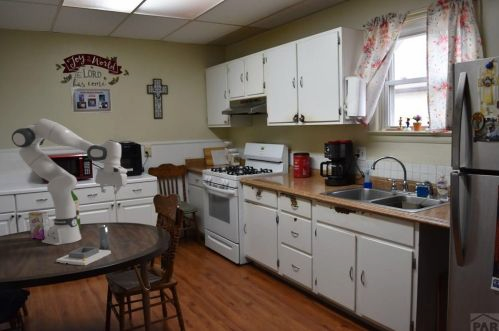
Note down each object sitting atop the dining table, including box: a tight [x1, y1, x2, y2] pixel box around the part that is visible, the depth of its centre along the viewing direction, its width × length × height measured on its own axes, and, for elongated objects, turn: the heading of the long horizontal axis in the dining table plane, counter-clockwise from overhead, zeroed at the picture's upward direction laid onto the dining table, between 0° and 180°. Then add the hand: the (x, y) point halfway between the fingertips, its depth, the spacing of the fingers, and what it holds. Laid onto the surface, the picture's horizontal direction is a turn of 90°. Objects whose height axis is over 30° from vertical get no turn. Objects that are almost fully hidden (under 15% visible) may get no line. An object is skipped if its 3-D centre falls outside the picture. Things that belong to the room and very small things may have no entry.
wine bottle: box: [71, 189, 82, 230], centre depth 260 cm, size 9×9×32 cm
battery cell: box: [97, 224, 111, 250], centre depth 215 cm, size 5×5×13 cm
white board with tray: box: [55, 246, 112, 266], centre depth 201 cm, size 18×18×4 cm
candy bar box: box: [27, 210, 51, 240], centre depth 242 cm, size 11×5×16 cm, turn 71°
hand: (109, 193), depth 225 cm, fingers open, 8 cm apart
